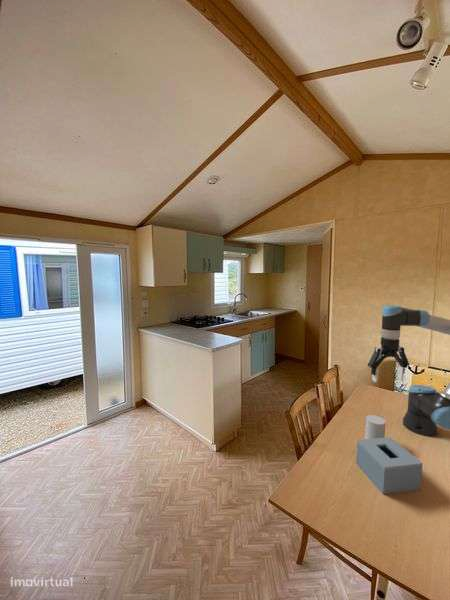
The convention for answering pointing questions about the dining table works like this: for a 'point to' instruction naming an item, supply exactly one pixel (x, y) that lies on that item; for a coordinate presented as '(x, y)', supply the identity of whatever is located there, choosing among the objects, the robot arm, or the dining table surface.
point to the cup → (374, 427)
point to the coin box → (389, 465)
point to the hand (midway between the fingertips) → (387, 380)
